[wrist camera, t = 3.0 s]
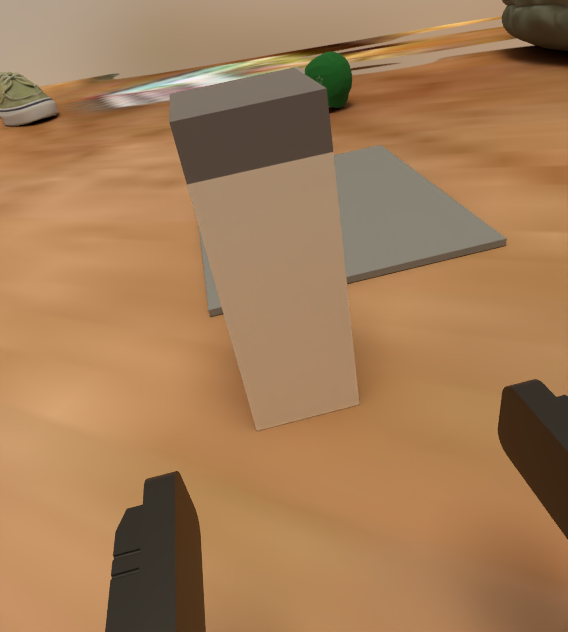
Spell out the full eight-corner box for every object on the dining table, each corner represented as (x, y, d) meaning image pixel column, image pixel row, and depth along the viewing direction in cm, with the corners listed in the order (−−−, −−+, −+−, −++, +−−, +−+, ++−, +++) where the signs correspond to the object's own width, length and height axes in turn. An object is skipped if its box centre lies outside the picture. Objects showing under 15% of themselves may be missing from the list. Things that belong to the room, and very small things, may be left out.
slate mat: (380, 149, 53) (380, 144, 52) (505, 245, 33) (506, 238, 33) (195, 191, 51) (194, 186, 51) (210, 316, 32) (208, 310, 31)
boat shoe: (20, 132, 96) (-3, 82, 91) (-16, 120, 115) (-36, 78, 110) (71, 116, 101) (52, 68, 96) (29, 107, 120) (11, 67, 115)
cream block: (331, 342, 28) (294, 67, 20) (359, 404, 24) (326, 88, 16) (243, 364, 27) (169, 93, 19) (256, 431, 23) (169, 121, 15)
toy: (260, 136, 76) (336, 112, 65) (242, 88, 73) (318, 53, 62) (296, 119, 80) (372, 94, 70) (280, 73, 78) (357, 39, 67)
